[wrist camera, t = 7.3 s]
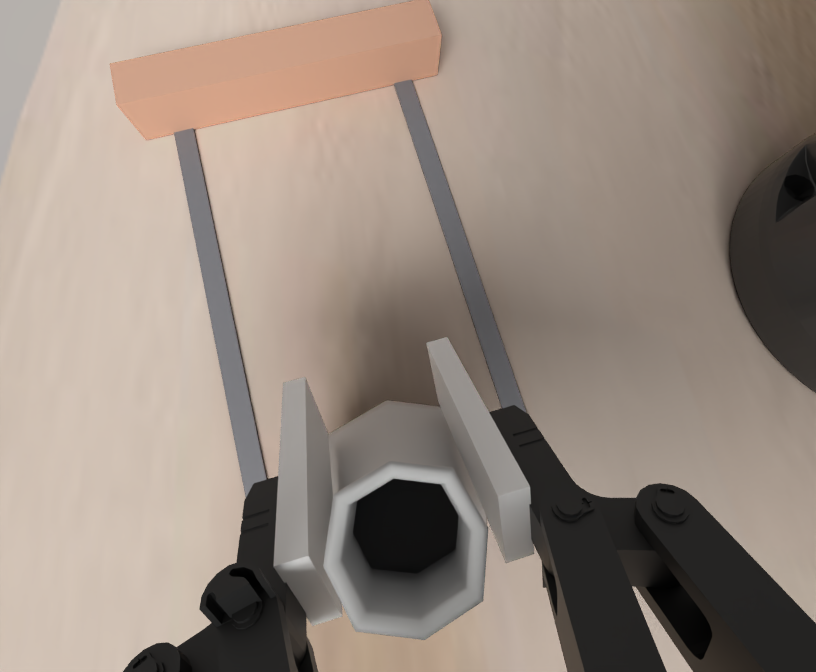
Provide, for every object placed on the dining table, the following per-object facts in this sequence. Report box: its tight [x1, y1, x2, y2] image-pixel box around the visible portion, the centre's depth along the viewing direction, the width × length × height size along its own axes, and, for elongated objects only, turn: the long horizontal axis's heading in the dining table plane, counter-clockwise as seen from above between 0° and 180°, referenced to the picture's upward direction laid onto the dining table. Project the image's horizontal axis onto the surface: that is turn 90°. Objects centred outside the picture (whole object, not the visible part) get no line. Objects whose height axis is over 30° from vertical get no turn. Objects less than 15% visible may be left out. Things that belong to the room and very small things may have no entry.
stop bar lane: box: [110, 0, 527, 497], centre depth 20 cm, size 16×24×2 cm
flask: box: [323, 400, 488, 640], centre depth 13 cm, size 7×7×10 cm
